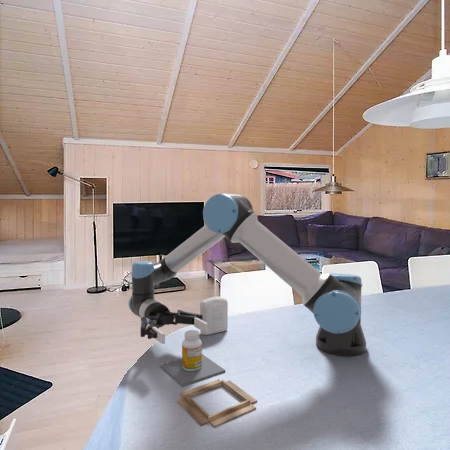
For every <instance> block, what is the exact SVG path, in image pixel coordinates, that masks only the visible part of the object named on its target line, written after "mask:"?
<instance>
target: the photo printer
mask: <svg viewBox="0 0 450 450" xmlns="http://www.w3.org/2000/svg"><path fill="white" fill-rule="evenodd" d="M199 305H200V307H199V308H200V309H199V310H200V311H199V314H201V315H203V321H204V322H206V323H208V332H207V333H205V332H203V331H201V330H200V329H199V330H200V331H199V333H200V334H201V335H202V336H207V335H208V336H209V335H214V334H217V333H220V332H221V333H222V332H224V331H228V323H229V322H228V319H229V317H228V316H229V315H228V312H229V309H228V308H229V307H228V306H229V305H228V299H227V298H226V297H223V296H212V297H211V296H210V297H209V298H205V299H204V300H202V301H200V304H199Z"/></svg>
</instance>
